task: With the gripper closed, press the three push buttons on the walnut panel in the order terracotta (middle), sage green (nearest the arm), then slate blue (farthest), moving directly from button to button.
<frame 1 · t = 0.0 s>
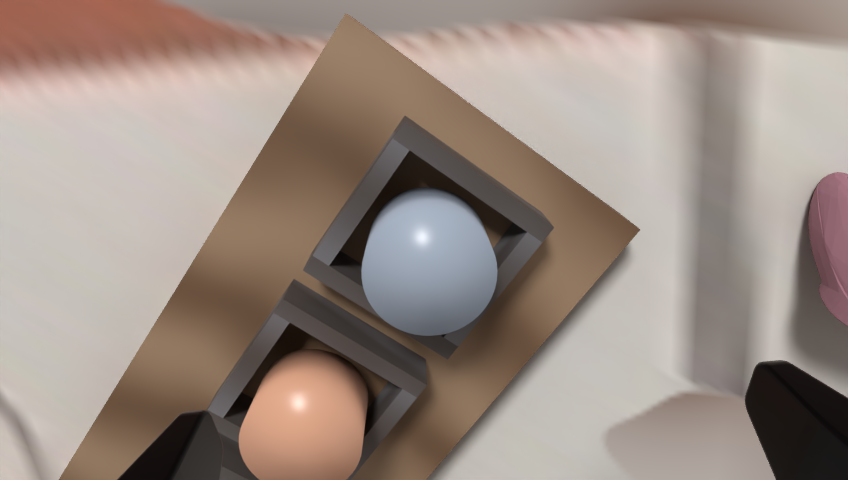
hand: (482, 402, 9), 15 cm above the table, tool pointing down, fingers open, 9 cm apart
button panel: (326, 353, 26), on the table
terracotta button: (308, 419, 22), point 5 cm above the table, slide at 0.0 cm
slate button: (428, 258, 20), point 5 cm above the table, slide at 0.0 cm
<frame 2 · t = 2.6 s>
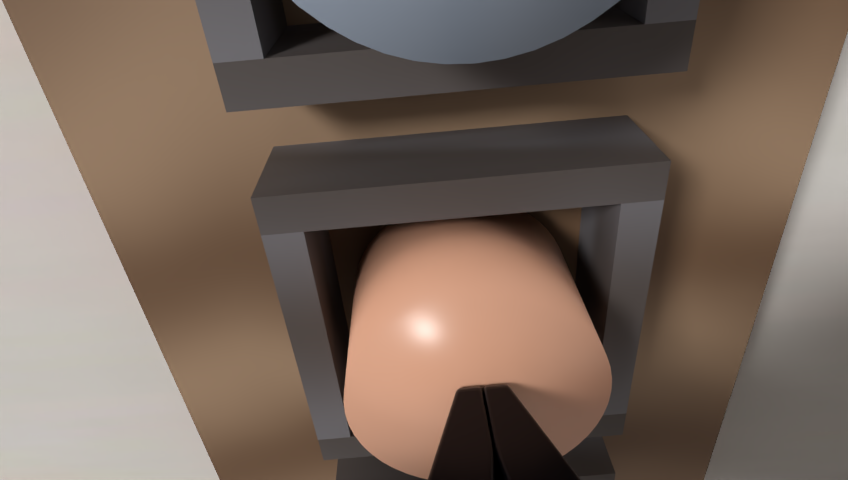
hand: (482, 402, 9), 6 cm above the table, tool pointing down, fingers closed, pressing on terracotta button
button panel: (450, 225, 14), on the table
terracotta button: (468, 339, 11), point 4 cm above the table, slide at 0.9 cm, touching gripper
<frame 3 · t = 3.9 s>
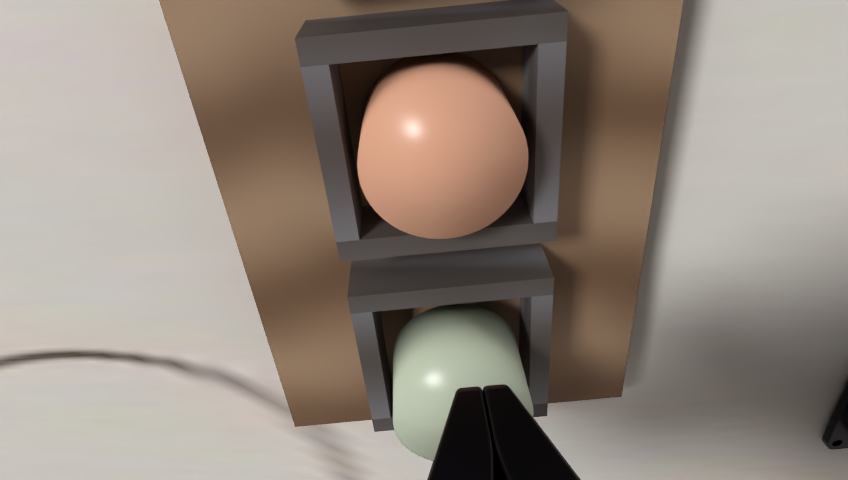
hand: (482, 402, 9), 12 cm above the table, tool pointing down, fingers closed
button panel: (432, 101, 19), on the table
terracotta button: (439, 143, 16), point 3 cm above the table, slide at 1.5 cm, touching button panel
sage button: (458, 383, 19), point 5 cm above the table, slide at 0.0 cm
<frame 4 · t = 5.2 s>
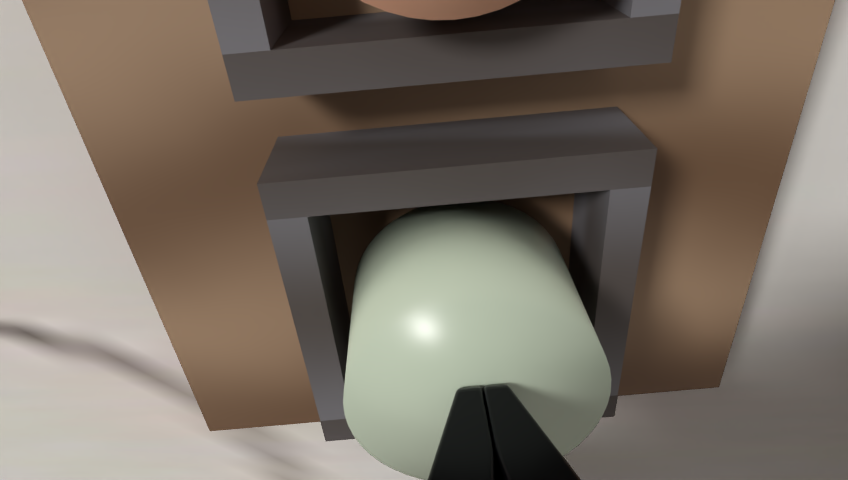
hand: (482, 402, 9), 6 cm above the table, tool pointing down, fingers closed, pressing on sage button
sage button: (467, 340, 11), point 5 cm above the table, slide at 0.4 cm, touching gripper
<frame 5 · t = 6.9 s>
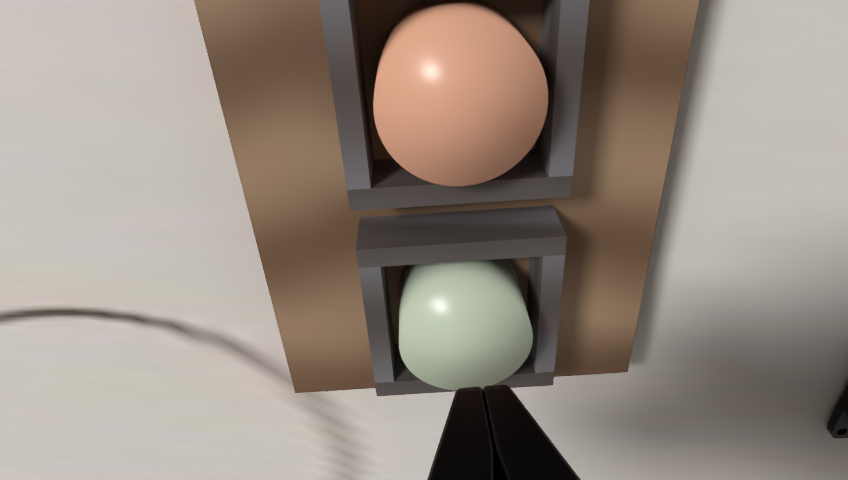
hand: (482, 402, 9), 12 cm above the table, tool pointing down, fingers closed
button panel: (447, 56, 18), on the table
terracotta button: (456, 89, 15), point 3 cm above the table, slide at 1.5 cm, touching button panel
sage button: (461, 314, 20), point 3 cm above the table, slide at 1.5 cm, touching button panel
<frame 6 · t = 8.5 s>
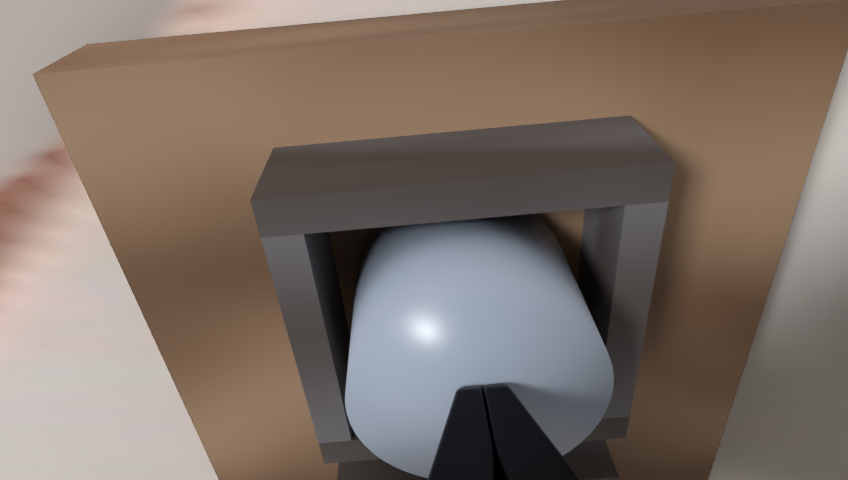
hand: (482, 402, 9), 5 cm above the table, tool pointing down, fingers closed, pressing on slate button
button panel: (464, 436, 18), on the table
slate button: (469, 338, 11), point 4 cm above the table, slide at 1.0 cm, touching gripper
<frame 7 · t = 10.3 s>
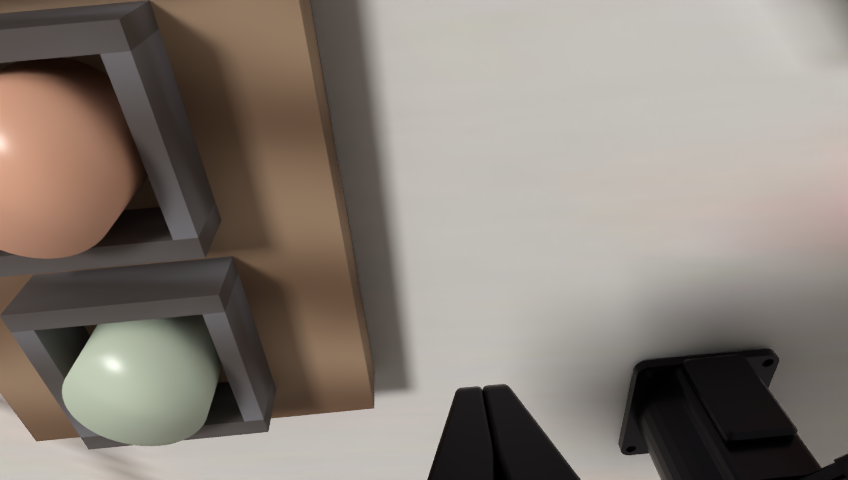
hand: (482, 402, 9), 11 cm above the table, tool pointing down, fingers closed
button panel: (102, 107, 18), on the table
terracotta button: (47, 157, 15), point 3 cm above the table, slide at 1.5 cm, touching button panel
sage button: (152, 368, 19), point 3 cm above the table, slide at 1.5 cm, touching button panel
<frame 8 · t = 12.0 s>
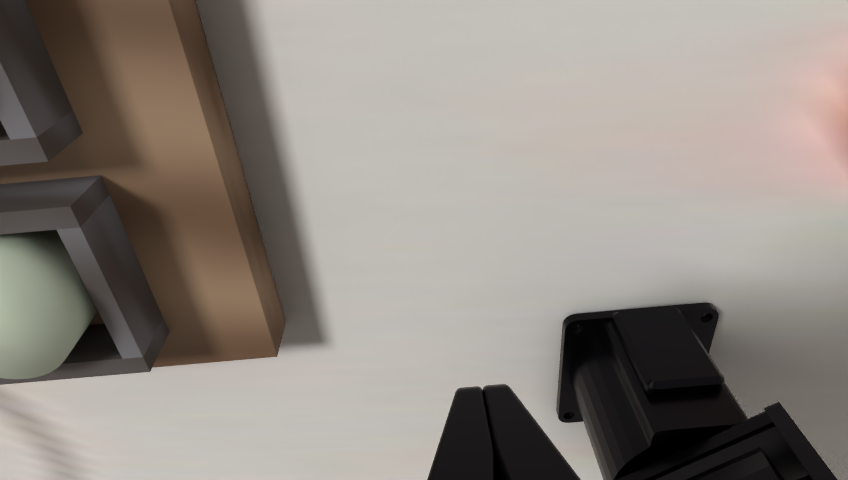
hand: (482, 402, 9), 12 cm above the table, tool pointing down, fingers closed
sage button: (19, 296, 18), point 3 cm above the table, slide at 1.5 cm, touching button panel
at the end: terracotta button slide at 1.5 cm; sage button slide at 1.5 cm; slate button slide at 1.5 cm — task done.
